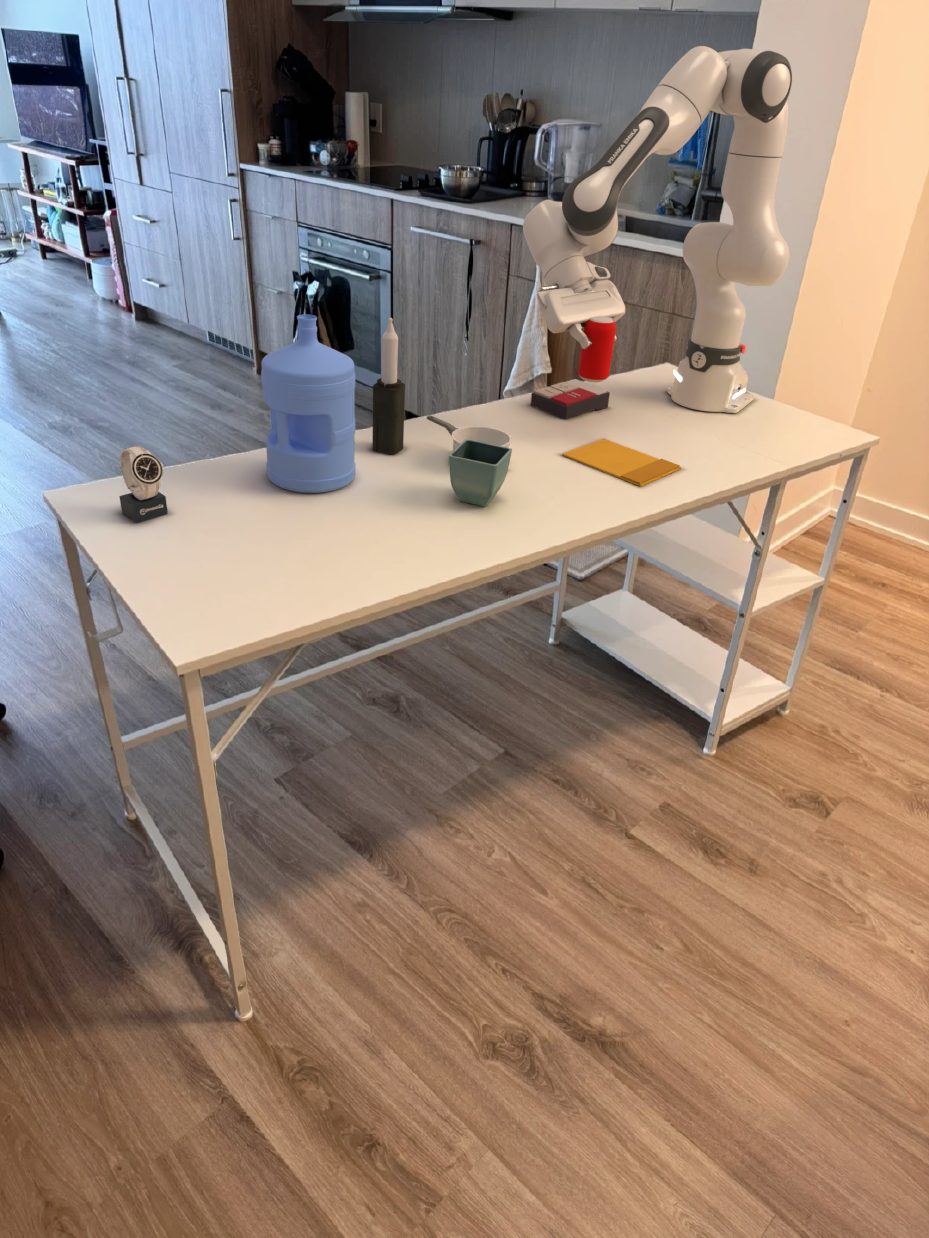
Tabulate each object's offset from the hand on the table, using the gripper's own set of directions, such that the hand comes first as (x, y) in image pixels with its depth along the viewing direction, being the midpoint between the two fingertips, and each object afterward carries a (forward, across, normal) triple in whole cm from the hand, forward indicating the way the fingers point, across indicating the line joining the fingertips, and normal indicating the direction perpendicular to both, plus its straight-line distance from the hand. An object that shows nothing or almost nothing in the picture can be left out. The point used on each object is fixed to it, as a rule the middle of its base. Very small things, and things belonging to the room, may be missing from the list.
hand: (600, 344), depth 170 cm
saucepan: (+9, -29, +18) cm, 36 cm away
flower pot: (+20, -40, +7) cm, 46 cm away
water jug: (+4, -59, +24) cm, 63 cm away
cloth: (+23, -4, +5) cm, 24 cm away
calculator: (+3, +12, +26) cm, 28 cm away
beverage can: (+5, 0, +6) cm, 7 cm away
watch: (+2, -89, +25) cm, 92 cm away
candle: (+1, -39, +26) cm, 47 cm away
